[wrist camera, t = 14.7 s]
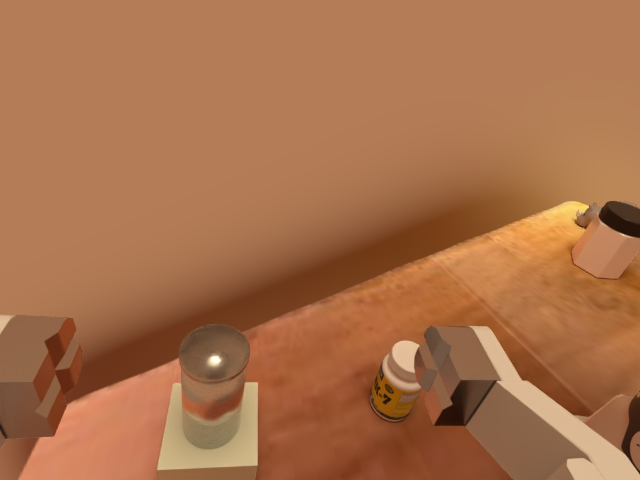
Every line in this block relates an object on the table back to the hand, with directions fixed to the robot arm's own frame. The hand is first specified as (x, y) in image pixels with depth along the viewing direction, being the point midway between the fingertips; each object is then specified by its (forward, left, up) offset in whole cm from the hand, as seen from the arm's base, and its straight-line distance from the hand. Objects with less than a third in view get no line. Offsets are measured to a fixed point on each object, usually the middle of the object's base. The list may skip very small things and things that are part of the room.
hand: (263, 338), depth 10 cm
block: (+2, -14, -32) cm, 35 cm away
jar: (-66, -46, -32) cm, 87 cm away
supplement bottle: (-17, -18, -32) cm, 41 cm away
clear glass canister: (+2, -14, -28) cm, 31 cm away
